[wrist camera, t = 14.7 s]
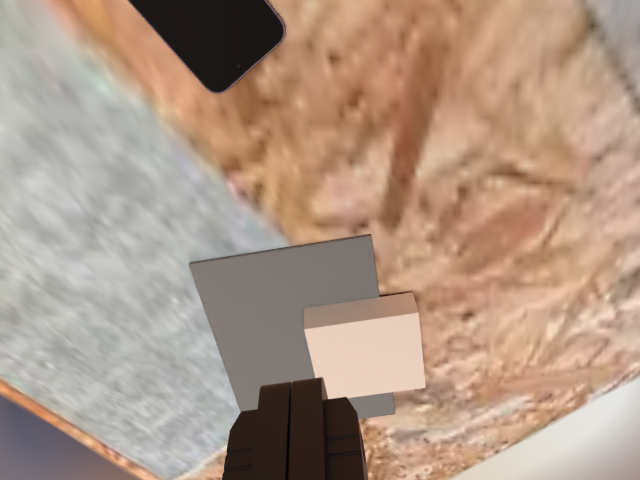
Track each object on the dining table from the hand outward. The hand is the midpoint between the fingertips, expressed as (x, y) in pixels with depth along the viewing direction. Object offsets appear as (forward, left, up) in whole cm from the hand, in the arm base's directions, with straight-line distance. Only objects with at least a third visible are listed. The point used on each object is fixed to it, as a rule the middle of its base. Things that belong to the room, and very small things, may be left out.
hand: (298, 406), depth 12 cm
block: (-7, +23, -27) cm, 36 cm away
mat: (+4, +23, -29) cm, 37 cm away
